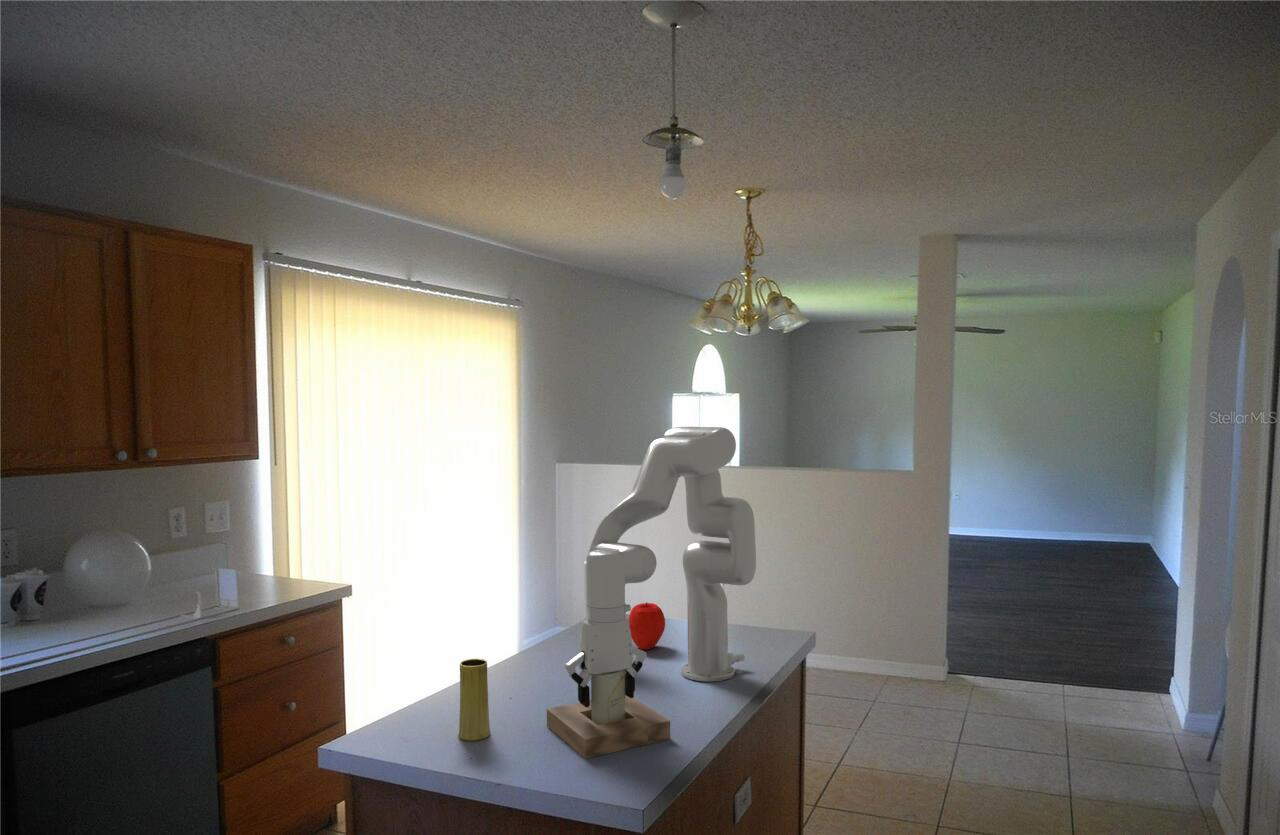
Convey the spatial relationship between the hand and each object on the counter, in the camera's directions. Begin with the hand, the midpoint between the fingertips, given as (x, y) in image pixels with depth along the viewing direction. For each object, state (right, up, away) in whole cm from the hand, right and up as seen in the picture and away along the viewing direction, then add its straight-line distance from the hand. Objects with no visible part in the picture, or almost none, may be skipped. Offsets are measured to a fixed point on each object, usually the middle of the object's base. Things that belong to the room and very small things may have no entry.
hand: (606, 700), depth 165 cm
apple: (+8, -6, +57) cm, 58 cm away
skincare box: (0, -7, 0) cm, 7 cm away
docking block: (0, -6, 0) cm, 6 cm away
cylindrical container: (-4, -6, +46) cm, 47 cm away
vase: (-26, -7, -1) cm, 27 cm away
